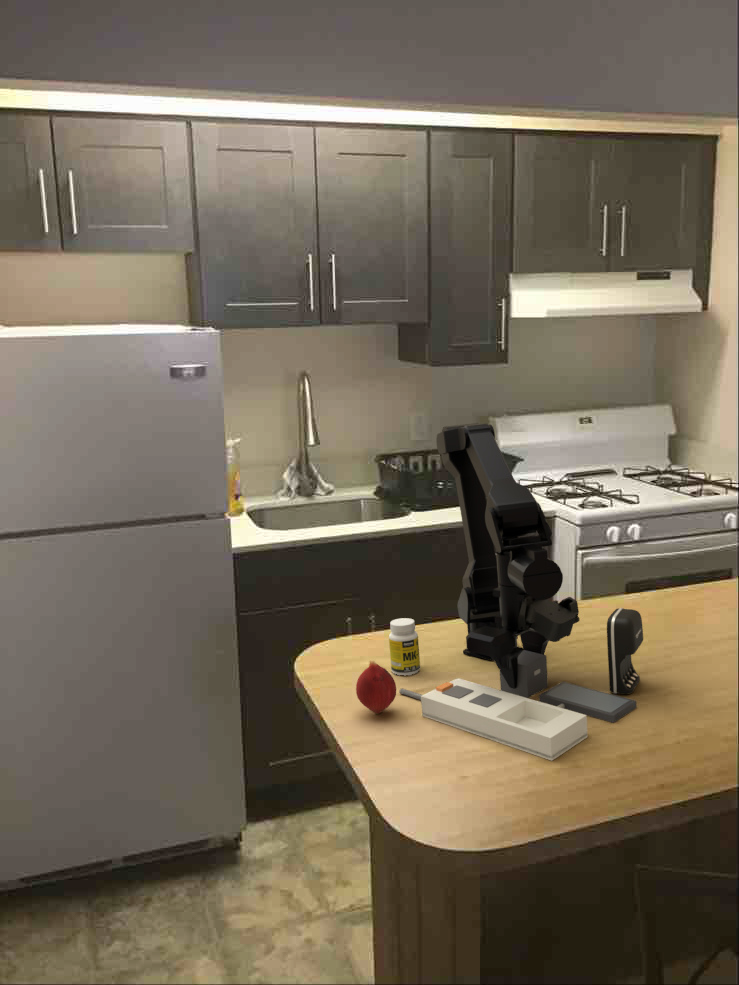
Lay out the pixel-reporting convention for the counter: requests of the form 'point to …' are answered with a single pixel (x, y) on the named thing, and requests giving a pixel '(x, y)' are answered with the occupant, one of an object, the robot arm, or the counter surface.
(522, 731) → the power strip
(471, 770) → the counter surface
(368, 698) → the onion
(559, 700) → the phone
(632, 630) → the battery charger
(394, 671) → the supplement bottle
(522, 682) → the charger cube
